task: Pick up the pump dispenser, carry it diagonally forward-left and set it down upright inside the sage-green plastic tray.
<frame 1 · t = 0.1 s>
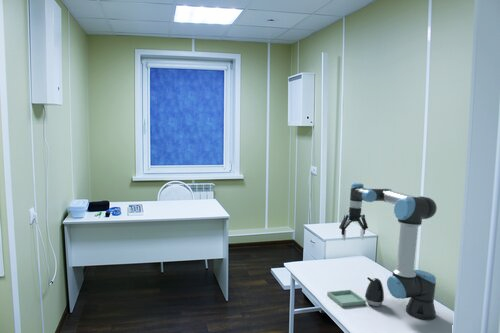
hand: (352, 239, 260), 28 cm above the table, fingers open, 13 cm apart
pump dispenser: (373, 304, 229), on the table
tray: (345, 300, 232), on the table
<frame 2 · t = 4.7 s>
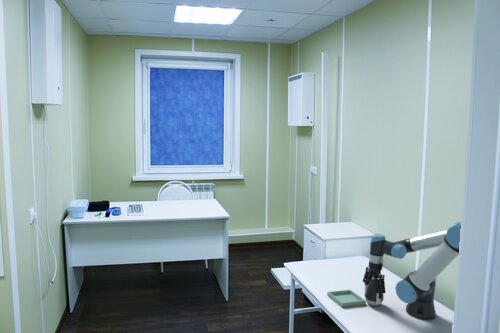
hand: (372, 299, 229), 3 cm above the table, fingers closed on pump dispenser, 10 cm apart
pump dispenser: (373, 304, 229), on the table, touching gripper
when the fingers open (5 cm above the table, at t = 11.6 s): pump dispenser drops 2 cm, resting on tray.
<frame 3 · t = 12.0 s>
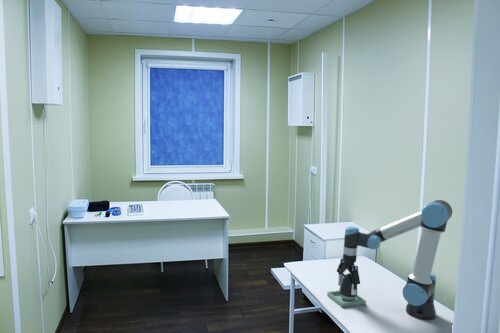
hand: (346, 289, 232), 6 cm above the table, fingers open, 13 cm apart
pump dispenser: (347, 299, 233), point 1 cm above the table, touching tray
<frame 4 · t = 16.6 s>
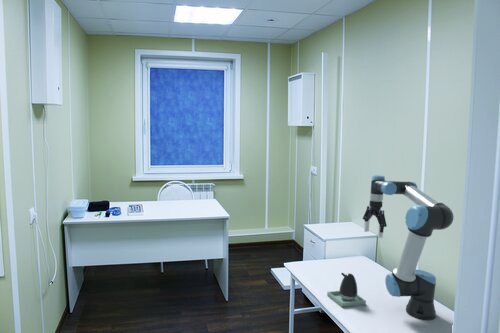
hand: (373, 234, 248), 35 cm above the table, fingers open, 13 cm apart
nothing on the table moved.
at the end: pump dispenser inside the target area on the tray (1.0 cm from its centre), point 0.4 cm above the tray's base; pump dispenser tilted 0°; the gripper is holding nothing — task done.
